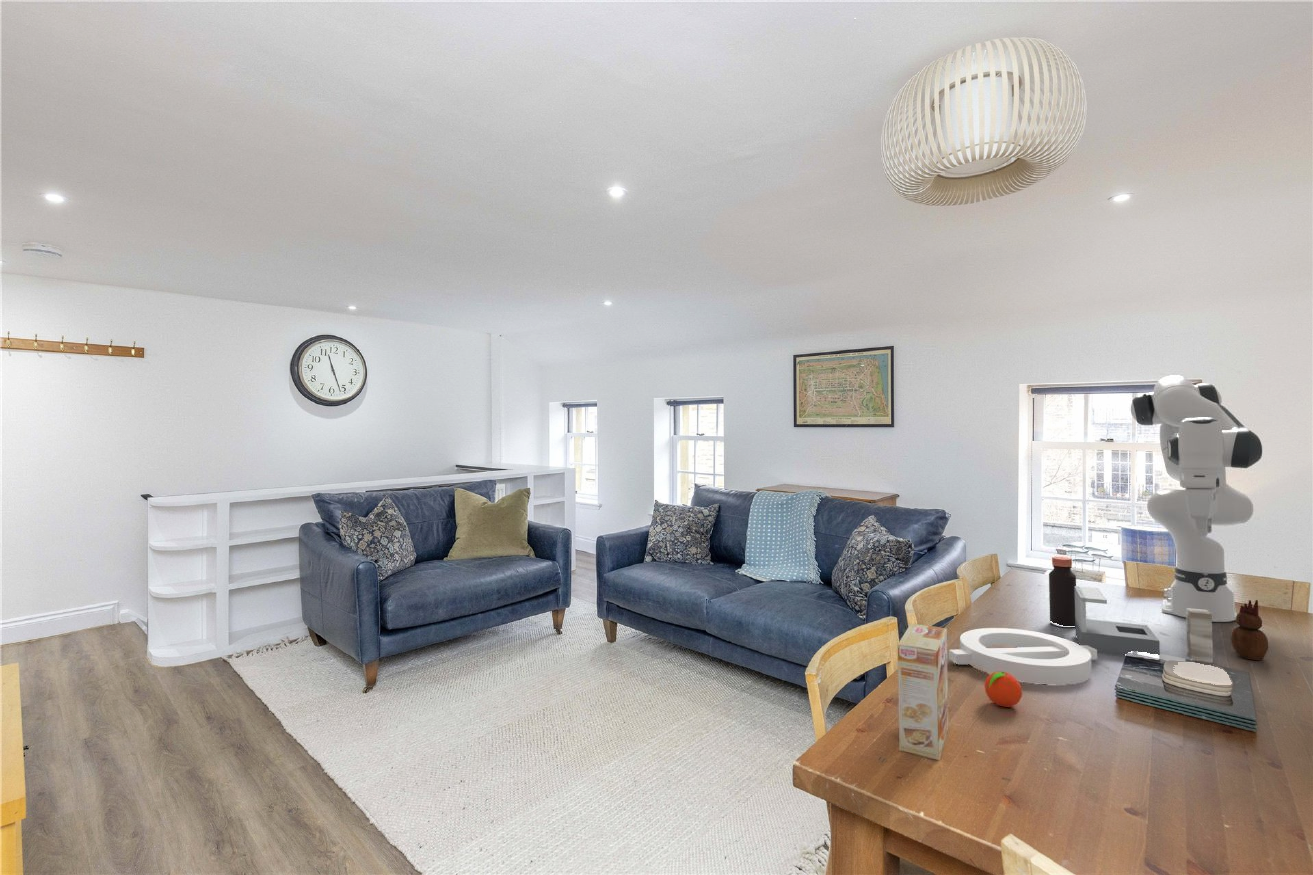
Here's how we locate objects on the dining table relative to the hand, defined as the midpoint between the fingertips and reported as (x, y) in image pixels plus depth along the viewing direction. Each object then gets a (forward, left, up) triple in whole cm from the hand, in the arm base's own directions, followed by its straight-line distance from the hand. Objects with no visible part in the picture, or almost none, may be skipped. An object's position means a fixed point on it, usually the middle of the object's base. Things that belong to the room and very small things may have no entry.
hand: (1204, 534), depth 154 cm
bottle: (-14, -29, -31) cm, 45 cm away
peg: (+4, -2, -31) cm, 31 cm away
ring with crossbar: (+26, -41, -31) cm, 58 cm away
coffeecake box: (+78, -59, -31) cm, 103 cm away
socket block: (+3, -19, -31) cm, 36 cm away
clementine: (+56, -46, -31) cm, 79 cm away
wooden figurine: (-2, +9, -31) cm, 32 cm away
